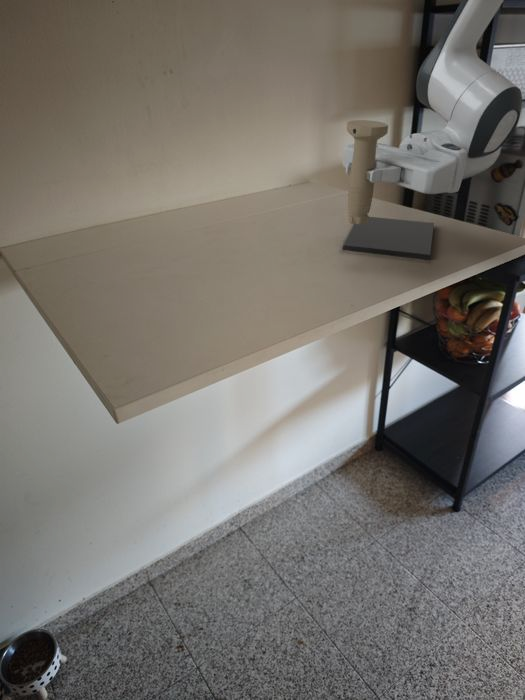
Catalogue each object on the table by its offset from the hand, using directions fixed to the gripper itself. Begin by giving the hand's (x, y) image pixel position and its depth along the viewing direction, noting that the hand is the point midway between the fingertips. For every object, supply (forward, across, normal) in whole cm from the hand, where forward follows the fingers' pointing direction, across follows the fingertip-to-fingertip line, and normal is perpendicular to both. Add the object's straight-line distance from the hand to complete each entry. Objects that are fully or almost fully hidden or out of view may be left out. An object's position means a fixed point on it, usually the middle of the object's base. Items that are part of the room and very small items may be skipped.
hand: (358, 172), depth 77 cm
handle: (-1, 0, +8) cm, 8 cm away
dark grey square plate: (-18, -8, +17) cm, 26 cm away
